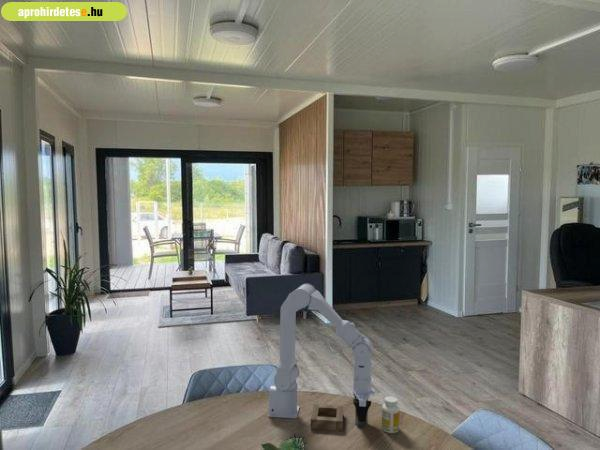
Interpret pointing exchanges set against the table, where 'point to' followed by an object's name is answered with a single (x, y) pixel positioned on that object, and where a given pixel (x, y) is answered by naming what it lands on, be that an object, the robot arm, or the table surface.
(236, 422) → the table surface
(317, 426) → the socket block
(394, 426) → the supplement bottle
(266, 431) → the table surface
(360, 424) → the grey cylinder
